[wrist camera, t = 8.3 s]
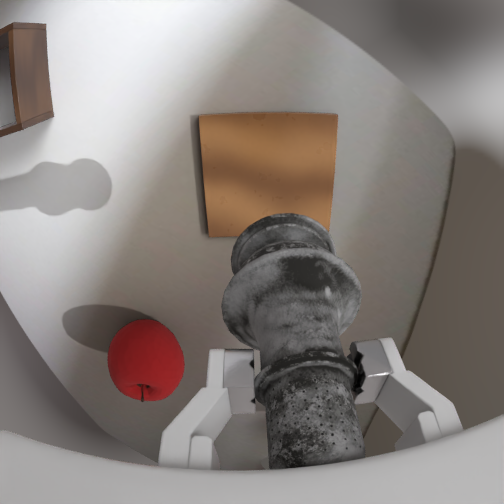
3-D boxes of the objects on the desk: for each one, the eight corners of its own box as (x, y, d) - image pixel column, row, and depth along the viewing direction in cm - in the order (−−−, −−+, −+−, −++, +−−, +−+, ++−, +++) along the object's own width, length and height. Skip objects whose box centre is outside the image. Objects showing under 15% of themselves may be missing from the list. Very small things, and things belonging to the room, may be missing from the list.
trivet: (199, 114, 24) (198, 115, 23) (336, 113, 24) (338, 114, 23) (209, 234, 30) (208, 237, 29) (327, 230, 30) (328, 234, 29)
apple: (109, 303, 34) (81, 371, 26) (184, 308, 35) (171, 383, 26) (126, 354, 39) (108, 416, 31) (191, 359, 40) (183, 426, 31)
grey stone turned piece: (256, 317, 18) (266, 534, 8) (203, 237, 15) (162, 512, 5) (353, 280, 17) (429, 496, 7) (319, 187, 14) (441, 462, 4)
